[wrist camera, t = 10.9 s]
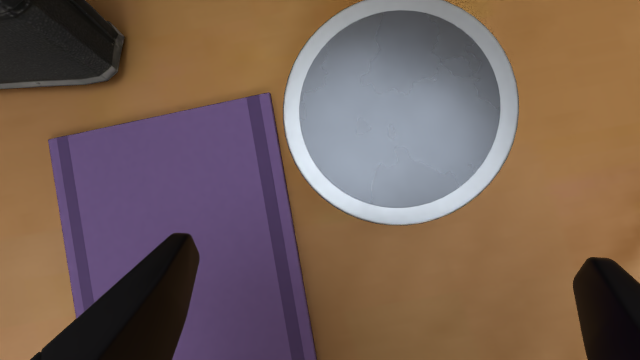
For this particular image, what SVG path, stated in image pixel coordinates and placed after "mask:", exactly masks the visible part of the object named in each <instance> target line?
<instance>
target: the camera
mask: <svg viewBox="0 0 640 360" xmlns="http://www.w3.org/2000/svg"><path fill="white" fill-rule="evenodd" d="M124 38H125V37H124V36H123V34H122V33H121V32H120V31H119V30H118V29H117V28H116V27H115V26H114V25H112V24H111V23H110V22H109V21H106V20H105V19H104V18H103V17H102V16H101V15H100V14H99V13H98V12H97V11H96V10H95V9H94V8H93V7H92V6H91V5H90V4H89V3H87V2H86V1H85V0H0V89H10V88H28V87H47V86H69V85H87V84H93V83H98V82H103V81H108V80H109V79H110V78H111V77H113V76H114V75H115V74H116V73H117V72H118V68H119V62H120V56H121V51H122V46H123V42H124Z"/></svg>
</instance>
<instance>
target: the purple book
mask: <svg viewBox="0 0 640 360" xmlns="http://www.w3.org/2000/svg"><path fill="white" fill-rule="evenodd" d="M48 142H49V148H50V155H51V161H52V167H53V174H54V180H55V187H56V193H57V199H58V206H59V212H60V218H61V225H62V231H63V237H64V244H65V250H66V256H67V263H68V269H69V275H70V282H71V288H72V294H73V301H74V307H75V313H76V318H78V317H79V316H80V315H81V314H82V313H83V312H84V311H85V310H87V309H88V308H89V307H90V306H91V305H92V304H93V303H94V302H96V301H97V300H98V299H99V298H100V297H101V296H102V295H103V294H105V293H106V292H107V291H108V290H109V289H110V288H111V287H112V286H113V285H115V284H116V283H117V282H118V281H119V280H120V279H121V278H122V277H124V276H125V275H126V274H127V273H128V272H129V271H130V270H131V269H133V268H134V267H135V266H136V265H137V264H138V263H139V262H140V261H142V260H143V259H144V258H145V257H146V256H147V255H148V254H149V253H150V252H152V251H153V250H154V249H155V248H156V247H157V246H158V245H159V244H161V243H162V242H163V241H164V240H165V239H166V238H167V237H168V236H170V235H171V234H173V233H189V234H190V235H191V236H192V238H193V240H194V242H195V245H196V247H197V249H198V252H199V256H200V261H199V266H198V270H197V275H196V279H195V283H194V288H193V292H192V296H191V301H190V305H189V309H188V313H187V317H186V321H185V324H184V327H183V330H182V333H181V336H180V339H179V342H178V345H177V347H176V350H175V353H174V356H173V359H172V360H317V358H316V352H315V346H314V341H313V335H312V329H311V323H310V318H309V312H308V306H307V301H306V295H305V289H304V283H303V278H302V272H301V266H300V260H299V255H298V249H297V243H296V238H295V232H294V226H293V220H292V215H291V209H290V203H289V197H288V192H287V186H286V180H285V175H284V169H283V163H282V157H281V152H280V146H279V140H278V134H277V129H276V123H275V117H274V112H273V106H272V100H271V94H270V93H264V94H260V95H254V96H250V97H246V98H241V99H236V100H232V101H227V102H222V103H217V104H213V105H208V106H203V107H199V108H194V109H189V110H185V111H180V112H175V113H171V114H166V115H161V116H157V117H152V118H147V119H143V120H138V121H133V122H129V123H124V124H119V125H114V126H110V127H105V128H100V129H96V130H91V131H86V132H82V133H77V134H72V135H68V136H63V137H58V138H54V139H49V140H48Z"/></svg>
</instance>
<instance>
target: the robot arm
mask: <svg viewBox="0 0 640 360" xmlns="http://www.w3.org/2000/svg"><path fill="white" fill-rule="evenodd" d="M199 261H200V256H199V252H198V249H197V247H196V245H195V242H194V240H193V238H192V236H191V235H190V234H189V233H173V234H171V235H170V236H168V237H167V238H166V239H165V240H164V241H163V242H162V243H161V244H159V245H158V246H157V247H156V248H155V249H154V250H153V251H152V252H150V253H149V254H148V255H147V256H146V257H145V258H144V259H143V260H142V261H140V262H139V263H138V264H137V265H136V266H135V267H134V268H133V269H131V270H130V271H129V272H128V273H127V274H126V275H125V276H124V277H122V278H121V279H120V280H119V281H118V282H117V283H116V284H115V285H113V286H112V287H111V288H110V289H109V290H108V291H107V292H106V293H105V294H103V295H102V296H101V297H100V298H99V299H98V300H97V301H96V302H94V303H93V304H92V305H91V306H90V307H89V308H88V309H87V310H85V311H84V312H83V313H82V314H81V315H80V316H79V317H78V318H76V319H75V320H74V321H73V322H72V323H71V324H70V325H69V326H67V327H66V328H65V329H64V330H63V331H62V332H61V333H60V334H59V335H57V336H56V337H55V338H54V339H53V340H52V341H51V342H50V343H48V344H47V345H46V346H45V347H44V348H43V349H42V351H41V352H38V353H37V354H36V355H35V356H34V357H33V358H31V359H30V360H172V359H173V356H174V353H175V350H176V347H177V345H178V342H179V339H180V336H181V333H182V330H183V327H184V324H185V321H186V317H187V313H188V309H189V305H190V301H191V296H192V292H193V288H194V283H195V279H196V275H197V270H198V266H199ZM573 290H574V295H575V300H576V305H577V311H578V316H579V321H580V326H581V331H582V336H583V341H584V346H585V350H586V355H587V358H588V360H640V283H639V282H637V281H636V280H635V279H634V278H633V277H632V276H631V275H630V274H628V273H627V272H626V271H625V270H624V269H623V268H622V267H621V266H620V265H618V264H617V263H616V262H615V261H613V260H612V259H609V258H598V257H590V258H588V259H587V260H586V261H585V263H584V264H583V266H582V267H581V269H580V270H579V271H578V273H577V274H576V276H575V278H574V280H573Z"/></svg>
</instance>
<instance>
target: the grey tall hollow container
mask: <svg viewBox="0 0 640 360" xmlns="http://www.w3.org/2000/svg"><path fill="white" fill-rule="evenodd" d="M518 116H519V96H518V90H517V84H516V79H515V76H514V73H513V70H512V66H511V64H510V62H509V60H508V58H507V56H506V54H505V51H504V50H503V48H502V47H501V45H500V44H499V42H498V41H497V39H496V38H495V37H494V36H493V35H492V33H491V32H490V31H489V30H488V29H487V28H486V27H485V26H484V25H483V24H482V23H481V22H480V21H478V20H477V19H476V18H475V17H474V16H472V15H471V14H469V13H467V12H466V11H464V10H463V9H461V8H459V7H457V6H455V5H453V4H451V3H449V2H446V1H443V0H364V1H361V2H358V3H356V4H354V5H352V6H350V7H348V8H346V9H344V10H342V11H340V12H339V13H337V14H336V15H334V16H333V17H331V18H330V19H329V20H328V21H327V22H325V23H324V24H323V25H322V26H321V27H320V28H318V30H317V31H316V32H315V33H314V34H313V35H312V36H311V37H310V38H309V40H308V41H307V42H306V44H305V45H304V47H303V48H302V50H301V51H300V53H299V55H298V56H297V58H296V60H295V62H294V64H293V66H292V69H291V72H290V74H289V77H288V80H287V84H286V89H285V93H284V102H283V124H284V130H285V137H286V140H287V144H288V147H289V150H290V153H291V155H292V157H293V160H294V162H295V164H296V166H297V167H298V169H299V171H300V172H301V174H302V176H303V177H304V178H305V180H306V181H307V182H308V183H309V185H310V186H311V187H312V188H313V189H314V190H315V191H316V192H317V193H318V194H319V195H320V196H321V197H322V198H323V199H324V200H326V201H327V202H328V203H330V204H331V205H333V206H334V207H336V208H337V209H339V210H341V211H343V212H344V213H346V214H348V215H351V216H353V217H356V218H358V219H361V220H364V221H368V222H372V223H376V224H384V225H412V224H420V223H425V222H428V221H432V220H436V219H439V218H441V217H444V216H446V215H448V214H451V213H453V212H455V211H456V210H458V209H460V208H462V207H463V206H465V205H466V204H468V203H469V202H470V201H472V200H473V199H474V198H476V197H477V196H478V195H479V194H480V193H481V192H482V191H483V190H484V189H485V188H486V187H487V186H488V185H489V184H490V183H491V182H492V180H493V179H494V178H495V177H496V175H497V174H498V173H499V171H500V169H501V168H502V166H503V164H504V163H505V161H506V159H507V157H508V155H509V152H510V150H511V147H512V145H513V142H514V138H515V134H516V130H517V125H518Z"/></svg>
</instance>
